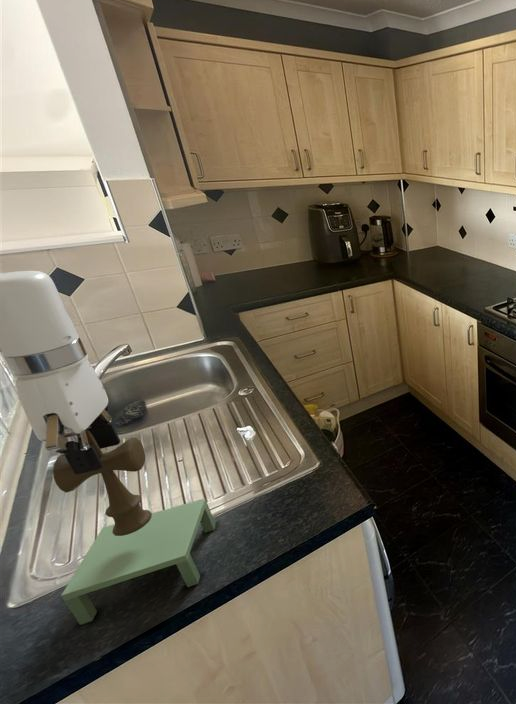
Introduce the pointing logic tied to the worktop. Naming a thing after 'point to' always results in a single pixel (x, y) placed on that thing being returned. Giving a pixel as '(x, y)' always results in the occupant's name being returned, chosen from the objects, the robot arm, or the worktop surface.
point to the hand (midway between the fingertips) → (99, 457)
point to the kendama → (111, 483)
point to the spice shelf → (138, 554)
